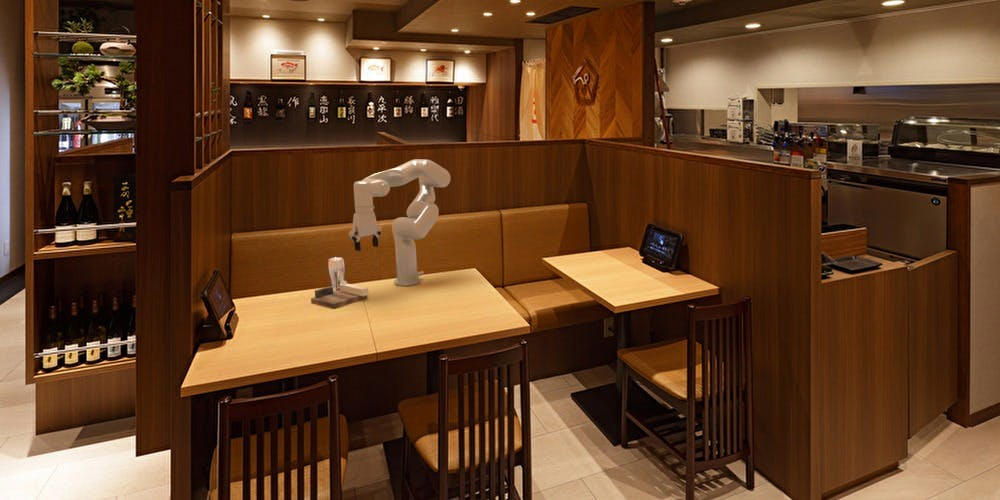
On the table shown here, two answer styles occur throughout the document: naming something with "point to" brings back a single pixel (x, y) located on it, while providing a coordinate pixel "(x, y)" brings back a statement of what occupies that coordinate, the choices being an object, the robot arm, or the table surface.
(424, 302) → the table surface
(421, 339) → the table surface
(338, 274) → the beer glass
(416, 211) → the robot arm
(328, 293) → the brown rectangular tray
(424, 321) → the table surface
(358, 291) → the hinged leg
